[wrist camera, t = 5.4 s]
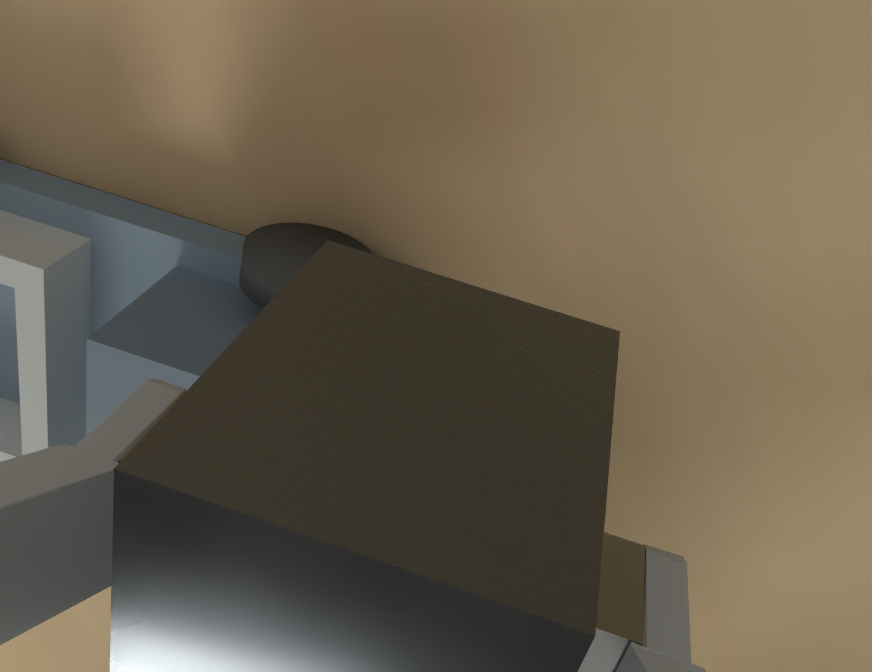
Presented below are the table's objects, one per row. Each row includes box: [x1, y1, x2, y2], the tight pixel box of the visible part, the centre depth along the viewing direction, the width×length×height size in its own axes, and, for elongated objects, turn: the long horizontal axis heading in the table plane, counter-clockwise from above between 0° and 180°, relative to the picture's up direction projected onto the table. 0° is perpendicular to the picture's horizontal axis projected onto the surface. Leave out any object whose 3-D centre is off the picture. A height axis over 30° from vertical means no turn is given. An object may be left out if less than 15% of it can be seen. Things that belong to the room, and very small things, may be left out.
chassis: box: [0, 159, 372, 462], centre depth 27 cm, size 21×13×6 cm, turn 77°
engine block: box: [110, 240, 620, 672], centre depth 10 cm, size 4×5×5 cm
